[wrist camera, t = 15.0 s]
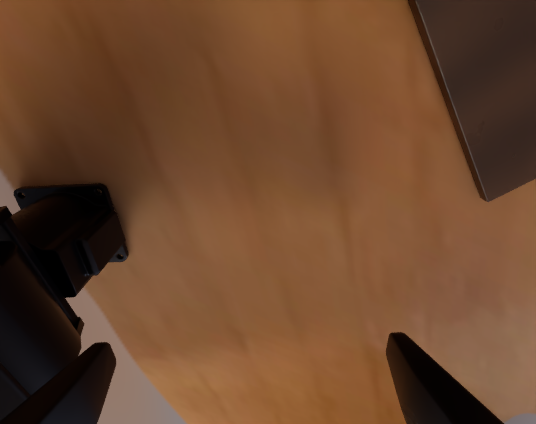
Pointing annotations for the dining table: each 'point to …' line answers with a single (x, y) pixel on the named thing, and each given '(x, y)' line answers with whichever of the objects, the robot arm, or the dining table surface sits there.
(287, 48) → the dining table surface
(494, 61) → the step shelf
